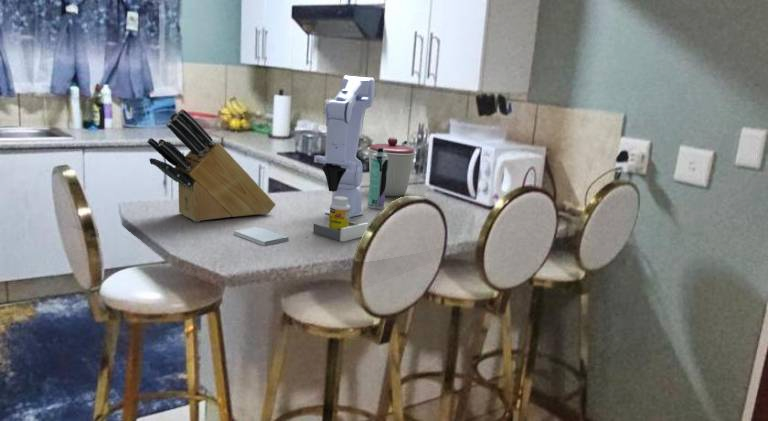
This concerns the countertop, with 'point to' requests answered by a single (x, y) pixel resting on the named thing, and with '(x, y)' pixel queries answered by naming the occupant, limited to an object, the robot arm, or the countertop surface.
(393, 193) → the canister
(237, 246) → the countertop surface
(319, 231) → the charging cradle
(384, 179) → the spray can
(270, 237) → the hard drive
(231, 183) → the knife block
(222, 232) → the countertop surface
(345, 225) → the supplement bottle
